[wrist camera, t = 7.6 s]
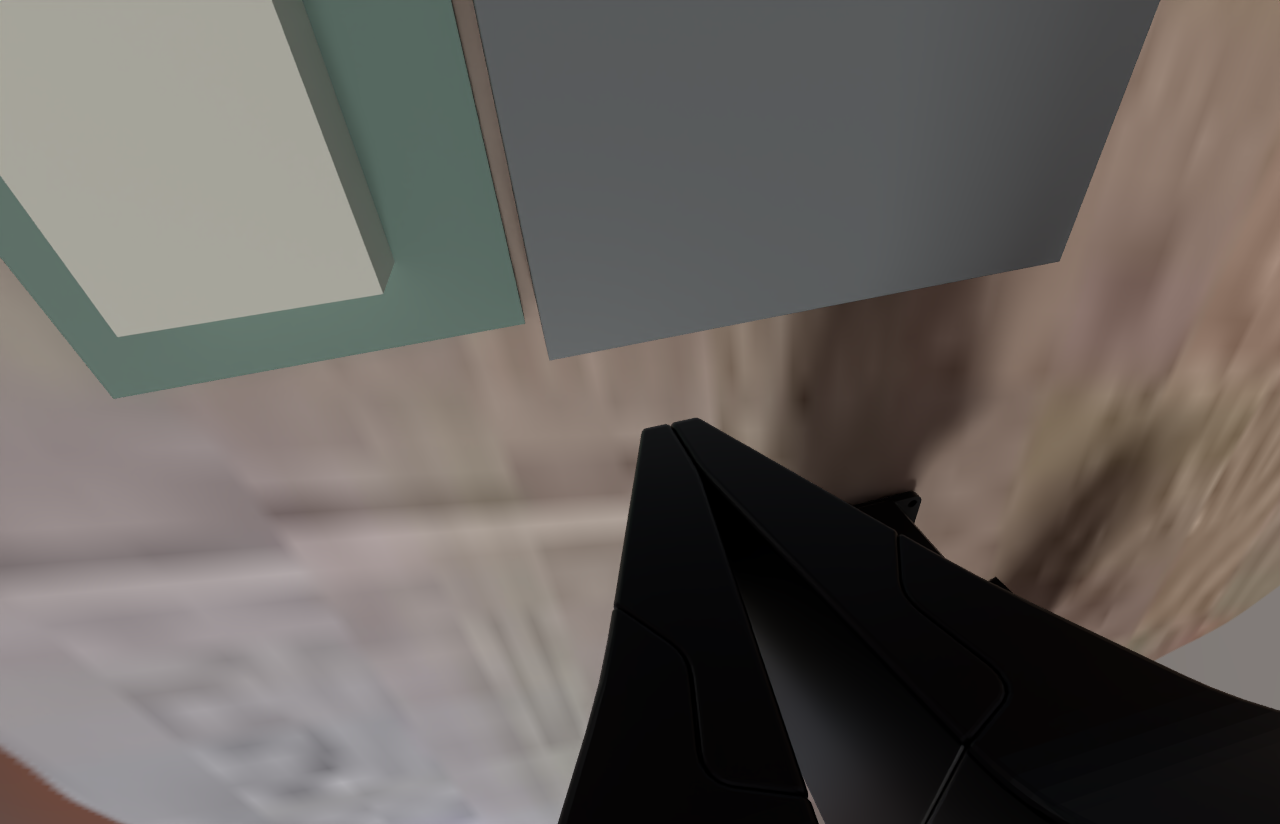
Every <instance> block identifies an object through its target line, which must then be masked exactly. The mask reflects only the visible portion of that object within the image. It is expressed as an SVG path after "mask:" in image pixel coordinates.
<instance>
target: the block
mask: <svg viewBox="0 0 1280 824" xmlns="http://www.w3.org/2000/svg"><path fill="white" fill-rule="evenodd" d="M0 176H1V177H2V179H3V180H4V181H5V183H6V184H7V185H8V187H9V188H10V190H11V191H12V192H13V194H14V195H15V197H16V198H17V199H18V201H19V202H20V203H21V205H22V206H23V208H24V209H25V210H26V212H27V213H28V214H29V216H30V217H31V219H32V220H33V221H34V223H35V224H36V225H37V227H38V228H39V230H40V231H41V232H42V234H43V235H44V237H45V238H46V239H47V241H48V242H49V243H50V245H51V246H52V248H53V249H54V250H55V252H56V253H57V254H58V256H59V257H60V259H61V260H62V261H63V263H64V264H65V265H66V267H67V268H68V270H69V271H70V272H71V274H72V275H73V277H74V278H75V279H76V281H77V282H78V283H79V285H80V286H81V288H82V289H83V290H84V292H85V293H86V294H87V296H88V297H89V299H90V300H91V301H92V303H93V304H94V305H95V307H96V308H97V310H98V311H99V312H100V314H101V315H102V317H103V318H104V319H105V321H106V322H107V323H108V325H109V326H110V328H111V329H112V330H113V332H114V333H115V334H116V336H117V337H122V336H128V335H134V334H140V333H146V332H152V331H158V330H165V329H171V328H177V327H183V326H189V325H195V324H202V323H208V322H214V321H220V320H226V319H232V318H238V317H245V316H251V315H257V314H263V313H269V312H275V311H282V310H288V309H294V308H300V307H306V306H312V305H319V304H325V303H331V302H337V301H343V300H349V299H355V298H362V297H368V296H374V295H380V294H383V293H384V291H385V288H386V285H387V282H388V279H389V277H390V274H391V271H392V268H393V266H394V263H395V261H394V259H393V256H392V253H391V250H390V247H389V244H388V242H387V239H386V236H385V233H384V230H383V228H382V225H381V222H380V219H379V216H378V213H377V211H376V208H375V205H374V202H373V199H372V196H371V194H370V191H369V188H368V185H367V182H366V179H365V177H364V174H363V171H362V168H361V165H360V162H359V160H358V157H357V154H356V151H355V148H354V145H353V143H352V140H351V137H350V134H349V131H348V129H347V126H346V123H345V120H344V117H343V114H342V112H341V109H340V106H339V103H338V100H337V97H336V95H335V92H334V89H333V86H332V83H331V80H330V78H329V75H328V72H327V69H326V66H325V63H324V61H323V58H322V55H321V52H320V49H319V46H318V44H317V41H316V38H315V35H314V32H313V30H312V27H311V24H310V21H309V18H308V15H307V13H306V10H305V7H304V4H303V1H302V0H0Z"/></svg>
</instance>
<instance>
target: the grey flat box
mask: <svg viewBox="0 0 1280 824" xmlns="http://www.w3.org/2000/svg"><path fill="white" fill-rule="evenodd" d="M1159 2H1160V0H473V3H474V8H475V13H476V18H477V22H478V27H479V32H480V37H481V41H482V46H483V51H484V56H485V60H486V65H487V70H488V75H489V79H490V84H491V89H492V94H493V98H494V103H495V108H496V113H497V117H498V122H499V127H500V132H501V136H502V141H503V146H504V151H505V155H506V160H507V165H508V170H509V174H510V179H511V184H512V189H513V193H514V198H515V203H516V208H517V212H518V217H519V222H520V227H521V231H522V236H523V241H524V246H525V250H526V255H527V260H528V265H529V269H530V274H531V279H532V284H533V288H534V293H535V298H536V303H537V307H538V311H539V316H540V320H541V325H542V329H543V334H544V338H545V342H546V347H547V351H548V356H549V360H555V359H560V358H565V357H570V356H575V355H580V354H586V353H591V352H596V351H601V350H606V349H611V348H616V347H622V346H627V345H632V344H637V343H642V342H647V341H652V340H658V339H663V338H668V337H673V336H678V335H683V334H688V333H694V332H699V331H704V330H709V329H714V328H719V327H724V326H730V325H735V324H740V323H745V322H750V321H755V320H760V319H766V318H771V317H776V316H781V315H786V314H791V313H796V312H802V311H807V310H812V309H817V308H822V307H827V306H832V305H838V304H843V303H848V302H853V301H858V300H863V299H868V298H874V297H879V296H884V295H889V294H894V293H899V292H905V291H910V290H915V289H920V288H925V287H930V286H935V285H941V284H946V283H951V282H956V281H961V280H966V279H971V278H977V277H982V276H987V275H992V274H997V273H1002V272H1007V271H1013V270H1018V269H1023V268H1028V267H1033V266H1038V265H1043V264H1049V263H1054V262H1059V261H1060V259H1061V256H1062V253H1063V251H1064V248H1065V246H1066V243H1067V240H1068V238H1069V235H1070V233H1071V230H1072V228H1073V225H1074V222H1075V220H1076V217H1077V215H1078V212H1079V209H1080V207H1081V204H1082V202H1083V199H1084V196H1085V194H1086V191H1087V189H1088V186H1089V183H1090V181H1091V178H1092V176H1093V173H1094V170H1095V168H1096V165H1097V163H1098V160H1099V158H1100V155H1101V152H1102V150H1103V147H1104V145H1105V142H1106V139H1107V137H1108V134H1109V132H1110V129H1111V126H1112V124H1113V121H1114V119H1115V116H1116V113H1117V111H1118V108H1119V106H1120V103H1121V101H1122V98H1123V95H1124V93H1125V90H1126V88H1127V85H1128V82H1129V80H1130V77H1131V75H1132V72H1133V69H1134V67H1135V64H1136V62H1137V59H1138V56H1139V54H1140V51H1141V49H1142V46H1143V43H1144V41H1145V38H1146V36H1147V33H1148V31H1149V28H1150V25H1151V23H1152V20H1153V18H1154V15H1155V12H1156V10H1157V7H1158V5H1159Z"/></svg>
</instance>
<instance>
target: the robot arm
mask: <svg viewBox="0 0 1280 824" xmlns="http://www.w3.org/2000/svg"><path fill="white" fill-rule="evenodd" d="M920 503H921V498H920V497H919V495H918V494H917V493H916V492H914V491H910V492H906V493H902V494H898V495H894V496H890V497H886V498H882V499H879V500H875V501H871V502H867V503H863V504H859V505H855V506H852V505H850V504H848V503H846V502H845V501H843V500H841V499H839V498H838V497H836V496H834V495H832V494H831V493H829V492H827V491H825V490H824V489H822V488H820V487H818V486H817V485H815V484H813V483H811V482H810V481H808V480H806V479H804V478H803V477H801V476H799V475H797V474H796V473H794V472H792V471H790V470H789V469H787V468H785V467H783V466H782V465H780V464H778V463H776V462H775V461H773V460H771V459H769V458H768V457H766V456H764V455H762V454H761V453H759V452H757V451H755V450H754V449H752V448H750V447H748V446H747V445H745V444H743V443H741V442H740V441H738V440H736V439H734V438H733V437H731V436H729V435H727V434H726V433H724V432H722V431H720V430H719V429H717V428H715V427H713V426H712V425H710V424H708V423H706V422H705V421H703V420H701V419H699V418H692V419H687V420H683V421H678V422H674V423H673V424H672V425H671V426H670V425H667V424H664V425H660V426H655V427H650V428H646V429H644V430H643V431H642V434H641V440H640V446H639V452H638V458H637V464H636V470H635V477H634V483H633V489H632V495H631V501H630V508H629V514H628V520H627V526H626V532H625V538H624V545H623V551H622V557H621V563H620V569H619V576H618V582H617V588H616V594H615V600H614V610H613V611H612V616H611V622H610V628H609V634H608V640H607V645H606V650H605V655H604V660H603V665H602V670H601V675H600V680H599V684H598V688H597V692H596V696H595V699H594V703H593V707H592V710H591V714H590V718H589V722H588V725H587V729H586V733H585V736H584V739H583V743H582V746H581V749H580V753H579V756H578V759H577V762H576V766H575V769H574V772H573V775H572V779H571V782H570V785H569V788H568V792H567V795H566V798H565V801H564V805H563V808H562V811H561V815H560V818H559V821H558V824H819V823H818V820H817V818H816V815H815V812H814V809H813V806H812V804H811V802H810V801H809V800H808V791H807V788H806V785H805V782H806V784H807V786H808V788H809V790H810V792H811V795H812V797H813V799H814V801H815V803H816V805H817V807H818V809H819V811H820V813H821V816H822V818H823V820H824V822H825V824H1280V711H1279V710H1275V709H1273V708H1269V707H1266V706H1263V705H1260V704H1256V703H1253V702H1250V701H1247V700H1244V699H1241V698H1238V697H1236V696H1233V695H1230V694H1228V693H1225V692H1223V691H1220V690H1217V689H1215V688H1212V687H1210V686H1207V685H1205V684H1203V683H1201V682H1198V681H1196V680H1194V679H1192V678H1189V677H1187V676H1185V675H1183V674H1180V673H1178V672H1176V671H1174V670H1172V669H1170V668H1168V667H1166V666H1164V665H1161V664H1159V663H1157V662H1155V661H1153V660H1151V659H1149V658H1147V657H1145V656H1143V655H1140V654H1138V653H1136V652H1134V651H1132V650H1130V649H1128V648H1126V647H1124V646H1122V645H1119V644H1117V643H1115V642H1113V641H1111V640H1109V639H1107V638H1105V637H1103V636H1100V635H1098V634H1096V633H1094V632H1092V631H1090V630H1088V629H1086V628H1084V627H1082V626H1079V625H1077V624H1075V623H1073V622H1071V621H1069V620H1067V619H1065V618H1063V617H1060V616H1058V615H1056V614H1054V613H1052V612H1050V611H1048V610H1046V609H1044V608H1042V607H1039V606H1037V605H1035V604H1033V603H1031V602H1029V601H1027V600H1025V599H1023V598H1021V597H1019V596H1017V595H1015V594H1013V593H1012V592H1011V591H1010V590H1009V589H1008V588H1007V587H1006V586H1005V585H1004V584H1003V583H1002V582H1001V581H1000V580H999V579H998V578H996V577H994V578H992V579H991V580H989V581H987V580H985V579H983V578H981V577H979V576H977V575H975V574H973V573H971V572H970V571H968V570H966V569H964V568H962V567H960V566H959V565H957V564H955V563H953V562H951V561H949V560H947V559H946V558H944V556H943V555H942V554H941V553H940V552H939V551H938V550H937V549H936V547H935V546H934V545H933V544H932V543H931V542H930V541H929V540H928V539H927V537H926V536H925V535H924V534H923V533H922V532H921V531H920V530H919V529H918V527H917V526H916V525H915V524H914V522H915V519H916V516H917V513H918V510H919V507H920ZM803 778H804V779H803ZM804 780H805V782H804Z"/></svg>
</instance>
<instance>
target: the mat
mask: <svg viewBox="0 0 1280 824" xmlns="http://www.w3.org/2000/svg"><path fill="white" fill-rule="evenodd" d="M302 1H303V4H304V7H305V10H306V13H307V15H308V18H309V21H310V24H311V27H312V30H313V32H314V35H315V38H316V41H317V44H318V46H319V49H320V52H321V55H322V58H323V61H324V63H325V66H326V69H327V72H328V75H329V78H330V80H331V83H332V86H333V89H334V92H335V95H336V97H337V100H338V103H339V106H340V109H341V112H342V114H343V117H344V120H345V123H346V126H347V129H348V131H349V134H350V137H351V140H352V143H353V145H354V148H355V151H356V154H357V157H358V160H359V162H360V165H361V168H362V171H363V174H364V177H365V179H366V182H367V185H368V188H369V191H370V194H371V196H372V199H373V202H374V205H375V208H376V211H377V213H378V216H379V219H380V222H381V225H382V228H383V230H384V233H385V236H386V239H387V242H388V244H389V247H390V250H391V253H392V256H393V259H394V261H395V263H394V266H393V268H392V271H391V274H390V277H389V279H388V282H387V285H386V288H385V291H384V293H383V294H380V295H374V296H368V297H362V298H355V299H349V300H343V301H337V302H331V303H325V304H319V305H312V306H306V307H300V308H294V309H288V310H282V311H275V312H269V313H263V314H257V315H251V316H245V317H238V318H232V319H226V320H220V321H214V322H208V323H202V324H195V325H189V326H183V327H177V328H171V329H165V330H158V331H152V332H146V333H140V334H134V335H128V336H122V337H117V336H116V334H115V333H114V332H113V330H112V329H111V328H110V326H109V325H108V323H107V322H106V321H105V319H104V318H103V317H102V315H101V314H100V312H99V311H98V310H97V308H96V307H95V305H94V304H93V303H92V301H91V300H90V299H89V297H88V296H87V294H86V293H85V292H84V290H83V289H82V288H81V286H80V285H79V283H78V282H77V281H76V279H75V278H74V277H73V275H72V274H71V272H70V271H69V270H68V268H67V267H66V265H65V264H64V263H63V261H62V260H61V259H60V257H59V256H58V254H57V253H56V252H55V250H54V249H53V248H52V246H51V245H50V243H49V242H48V241H47V239H46V238H45V237H44V235H43V234H42V232H41V231H40V230H39V228H38V227H37V225H36V224H35V223H34V221H33V220H32V219H31V217H30V216H29V214H28V213H27V212H26V210H25V209H24V208H23V206H22V205H21V203H20V202H19V201H18V199H17V198H16V197H15V195H14V194H13V192H12V191H11V190H10V188H9V187H8V185H7V184H6V183H5V181H4V180H3V179H2V177H1V176H0V257H1V259H2V260H3V261H4V262H5V264H6V265H7V266H8V267H9V269H10V270H11V271H12V272H13V274H14V275H15V276H16V277H17V279H18V280H19V281H20V282H21V284H22V285H23V286H24V287H25V289H26V290H27V291H28V292H29V294H30V295H31V296H32V297H33V299H34V300H35V301H36V302H37V304H38V305H39V306H40V307H41V309H42V310H43V311H44V312H45V314H46V315H47V316H48V317H49V319H50V320H51V321H52V322H53V324H54V325H55V326H56V327H57V329H58V330H59V331H60V332H61V334H62V335H63V336H64V337H65V339H66V340H67V341H68V342H69V344H70V345H71V346H72V347H73V349H74V350H75V351H76V352H77V354H78V355H79V356H80V357H81V359H82V360H83V361H84V362H85V364H86V365H87V366H88V368H89V369H90V370H91V371H92V373H93V374H94V375H95V376H96V378H97V379H98V380H99V381H100V383H101V384H102V385H103V386H104V388H105V389H106V390H107V391H108V393H109V394H110V395H111V396H112V398H113V399H115V398H121V397H126V396H132V395H137V394H143V393H148V392H154V391H159V390H165V389H170V388H175V387H181V386H186V385H192V384H197V383H203V382H208V381H214V380H219V379H225V378H230V377H236V376H241V375H247V374H252V373H258V372H263V371H268V370H274V369H279V368H285V367H290V366H296V365H301V364H307V363H312V362H318V361H323V360H329V359H334V358H340V357H345V356H350V355H356V354H361V353H367V352H372V351H378V350H383V349H389V348H394V347H400V346H405V345H411V344H416V343H422V342H427V341H433V340H438V339H443V338H449V337H454V336H460V335H465V334H471V333H476V332H482V331H487V330H493V329H498V328H504V327H509V326H515V325H520V324H525V320H524V315H523V311H522V307H521V302H520V298H519V294H518V289H517V285H516V280H515V276H514V272H513V267H512V263H511V259H510V254H509V250H508V246H507V241H506V237H505V233H504V228H503V224H502V219H501V215H500V211H499V206H498V202H497V198H496V193H495V189H494V185H493V180H492V176H491V171H490V167H489V163H488V158H487V154H486V150H485V145H484V141H483V137H482V132H481V128H480V124H479V119H478V115H477V110H476V106H475V102H474V97H473V93H472V89H471V84H470V80H469V76H468V71H467V67H466V62H465V58H464V54H463V49H462V45H461V41H460V36H459V32H458V28H457V23H456V19H455V15H454V10H453V6H452V1H451V0H302Z"/></svg>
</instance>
